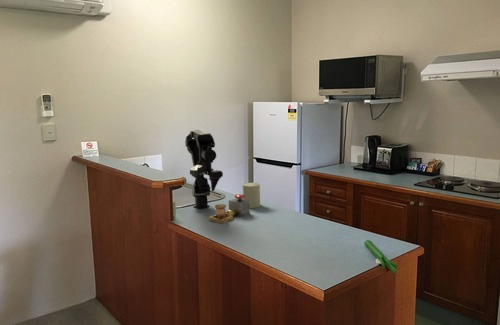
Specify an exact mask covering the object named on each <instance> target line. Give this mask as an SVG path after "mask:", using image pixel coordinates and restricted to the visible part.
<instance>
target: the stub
mask: <svg viewBox="0 0 500 325" xmlns="http://www.w3.org/2000/svg"><path fill="white" fill-rule="evenodd" d="M214 208H215V215H216V218H217V219H223V218H226V213H225V212H226V208H227V205H226V204H225V203H222V204H221V203H219V204H215V205H214Z"/></svg>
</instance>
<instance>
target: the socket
mask: <svg viewBox="0 0 500 325" xmlns="http://www.w3.org/2000/svg"><path fill="white" fill-rule="evenodd" d="M232 220H234V216H231V215H227V214H226V218H223V219H217V218H216V214H215V215H212V216H211V215H210V216H208V221H210V222H215V223H218V224H223V223H226V222H230V221H232Z"/></svg>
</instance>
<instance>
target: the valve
mask: <svg viewBox="0 0 500 325" xmlns="http://www.w3.org/2000/svg"><path fill="white" fill-rule="evenodd" d="M244 197H245V195H243V193H242V194H235V195H234V198H233V199H229V200H228V210H227V211H226V210H225V213H226V214H227V215H231V216H233V217H235V216H237V217H239V218H240V217H243V216H247V215H249V214H250V213H251V212H250V208H249V200H248V199H243V198H244Z"/></svg>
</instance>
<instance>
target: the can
mask: <svg viewBox="0 0 500 325" xmlns="http://www.w3.org/2000/svg"><path fill="white" fill-rule="evenodd" d="M260 186H261V184H260V183H258V182H247V183H243V184H242V195H245V197H244V198H243V199H248V200H249V209H254V208H258V207H261V188H260Z"/></svg>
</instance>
